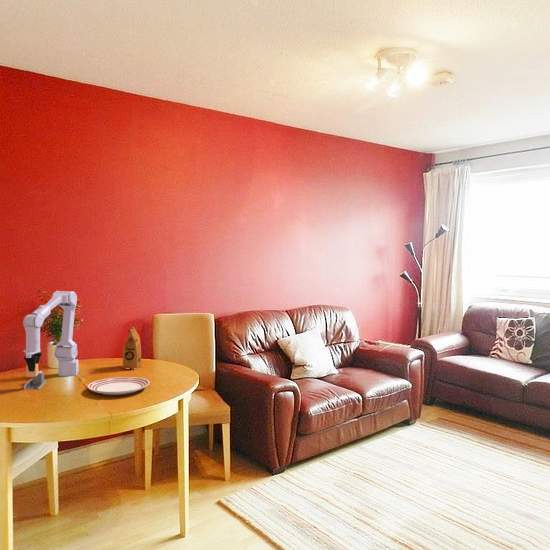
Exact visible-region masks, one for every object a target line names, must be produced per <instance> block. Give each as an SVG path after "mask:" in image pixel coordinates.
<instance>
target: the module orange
mask: <svg viewBox="0 0 550 550" xmlns="http://www.w3.org/2000/svg"><path fill="white" fill-rule="evenodd" d="M25 368H26V369H25V377H26V378H32V377H36V376H37V375H38V371H39V363H38V364H36V365H35V370H34V371H31V372H29V370H28V366H27V365H26V366H25Z"/></svg>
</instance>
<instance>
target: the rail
mask: <svg viewBox="0 0 550 550" xmlns="http://www.w3.org/2000/svg"><path fill="white" fill-rule="evenodd" d="M46 383H47V379H44V381H43V382H42V383H41V384H32V378H30V379H29V380H28V381H27V382H26V383H24V384H23V390H27V391H28V390H40V389H41V388H43V386H44V385H45V384H46Z"/></svg>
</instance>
